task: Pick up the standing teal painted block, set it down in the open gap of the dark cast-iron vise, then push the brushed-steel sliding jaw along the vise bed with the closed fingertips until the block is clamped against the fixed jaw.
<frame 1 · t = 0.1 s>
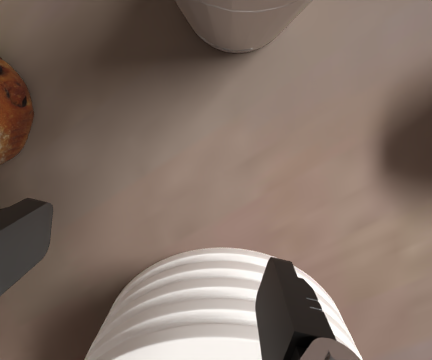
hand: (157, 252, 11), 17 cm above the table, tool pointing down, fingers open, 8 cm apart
plate stack: (223, 350, 35), on the table
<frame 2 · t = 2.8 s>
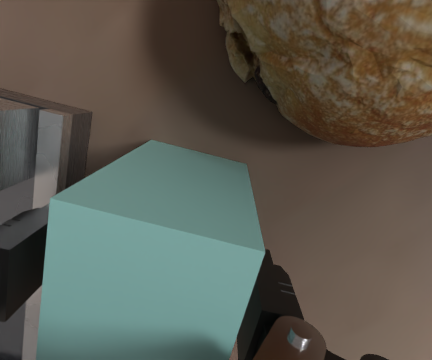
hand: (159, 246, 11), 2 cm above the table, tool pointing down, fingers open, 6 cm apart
teal block: (183, 217, 13), on the table
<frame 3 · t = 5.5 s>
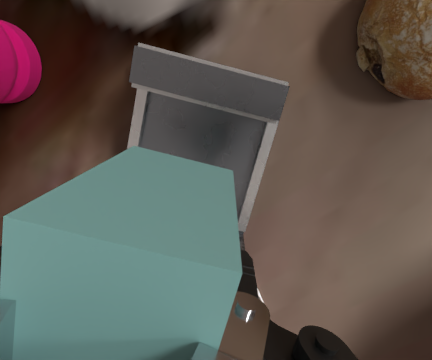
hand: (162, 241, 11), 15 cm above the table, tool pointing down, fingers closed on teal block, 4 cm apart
sliding jaw: (211, 86, 20), point 5 cm above the table, slide at 0.0 cm
teal block: (168, 225, 12), point 14 cm above the table, touching gripper
vise: (196, 160, 26), on the table
bread roll: (418, 25, 23), on the table
pepper mill: (6, 63, 24), on the table
when the fingers open (3 cm above the table, at t = 7.8 s): teal block stays where it is, resting on vise.
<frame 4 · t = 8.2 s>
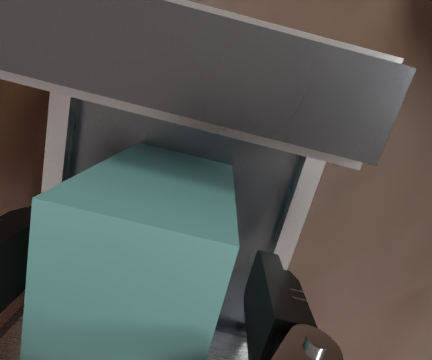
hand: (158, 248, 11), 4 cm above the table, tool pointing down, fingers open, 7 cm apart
sliding jaw: (194, 73, 8), point 5 cm above the table, slide at 0.0 cm
teal block: (171, 218, 13), point 1 cm above the table, touching vise
vise: (175, 210, 15), on the table
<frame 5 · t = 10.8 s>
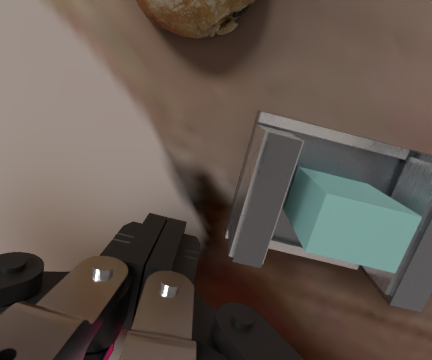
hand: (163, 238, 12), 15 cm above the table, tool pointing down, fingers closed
sliding jaw: (260, 191, 22), point 5 cm above the table, slide at 0.0 cm
teal block: (325, 197, 25), point 1 cm above the table, touching vise
vise: (322, 192, 26), on the table
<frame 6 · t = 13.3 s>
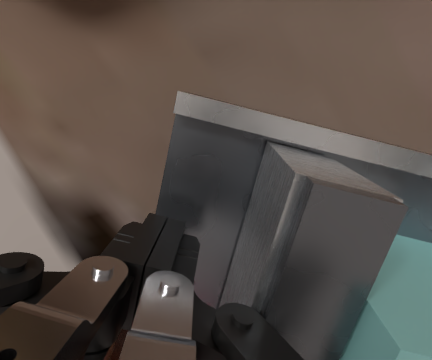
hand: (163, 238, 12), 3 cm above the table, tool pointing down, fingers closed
sliding jaw: (275, 291, 10), point 5 cm above the table, slide at 3.7 cm, touching hand, teal block
teal block: (358, 269, 13), point 2 cm above the table, touching sliding jaw, vise
vise: (311, 244, 14), on the table
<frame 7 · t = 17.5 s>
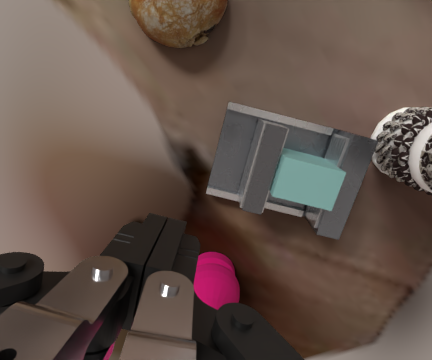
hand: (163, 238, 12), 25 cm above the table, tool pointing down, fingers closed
white patterned cylinder: (404, 142, 35), on the table
sliding jaw: (260, 164, 32), point 5 cm above the table, slide at 3.7 cm
teal block: (292, 167, 35), point 1 cm above the table, touching vise
vise: (276, 161, 36), on the table
pepper mill: (212, 270, 41), on the table
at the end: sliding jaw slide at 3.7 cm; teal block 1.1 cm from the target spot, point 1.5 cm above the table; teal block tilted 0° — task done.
